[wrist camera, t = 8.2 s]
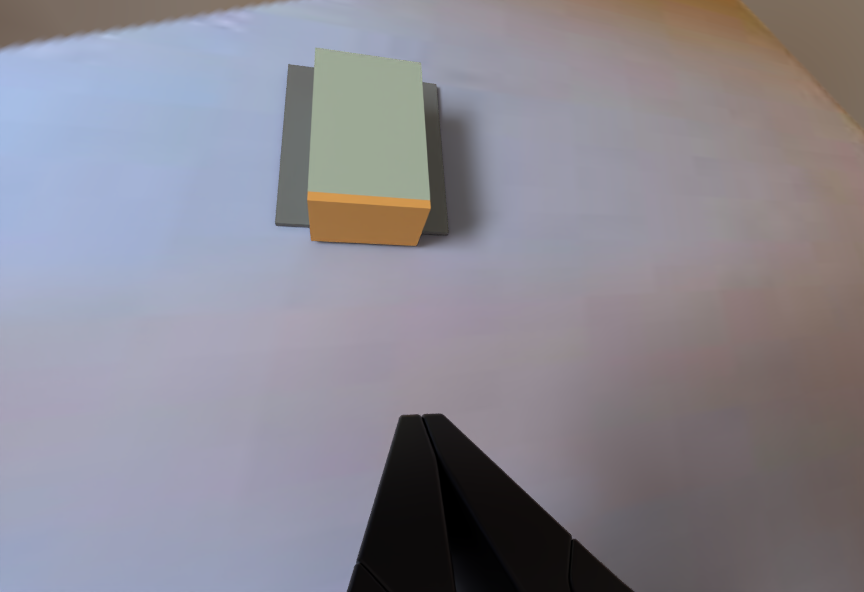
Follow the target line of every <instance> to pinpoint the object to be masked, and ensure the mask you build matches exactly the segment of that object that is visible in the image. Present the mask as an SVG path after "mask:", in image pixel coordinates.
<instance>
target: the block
mask: <svg viewBox="0 0 864 592" xmlns="http://www.w3.org/2000/svg"><path fill="white" fill-rule="evenodd" d="M307 204H308V214H309V224H310V234H311V241H327V242H347V243H368V244H388V245H409V246H417V244H418V241H419V238H420V236H421V233H422V230H423V228H424V225H425V223H426V220H427V217H428V215H429V212H430V209H431V205H430V190H429V175H428V160H427V145H426V130H425V116H424V101H423V86H422V71H421V63H418V62H411V61H404V60H397V59H390V58H383V57H377V56H370V55H363V54H356V53H349V52H342V51H335V50H328V49H321V48H315V65H314V83H313V102H312V120H311V139H310V157H309V176H308V194H307Z"/></svg>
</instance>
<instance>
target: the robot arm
mask: <svg viewBox="0 0 864 592" xmlns="http://www.w3.org/2000/svg"><path fill="white" fill-rule="evenodd" d="M347 592H634V591H633V590H632V589H630V588H629V587H628V586H627V585H626V584H624V583H623V582H622V581H621V580H620V579H619V578H618V577H617V576H615V575H614V574H613V573H612V572H611V571H610V570H609V569H608V568H607V567H606V566H604V565H603V564H602V563H601V562H600V561H599V560H598V559H597V558H596V557H594V556H593V555H592V554H591V553H590V552H589V551H588V550H587V549H586V548H585V547H584V546H583V545H582V544H581V543H580V542H578V541H577V540H576V539H572V536H571V534H570V533H569V532H568V531H567V530H565V529H564V528H563V527H562V526H561V525H560V524H559V523H558V522H557V521H556V520H555V519H554V518H553V517H552V516H551V515H550V514H548V513H547V512H546V511H545V510H544V509H543V508H542V507H541V506H540V505H539V504H538V503H537V502H536V501H535V500H534V499H533V498H531V497H530V496H529V495H528V494H527V493H526V492H525V491H524V490H523V489H522V488H521V487H520V486H519V485H518V484H517V483H516V482H514V481H513V480H512V479H511V478H510V477H509V476H508V475H507V474H506V473H505V472H504V471H503V470H502V469H501V468H500V467H499V466H497V465H496V464H495V463H494V462H493V461H492V460H491V459H490V458H489V457H488V456H487V455H486V454H485V453H484V452H483V451H482V450H480V449H479V448H478V447H477V446H476V445H475V444H474V443H473V442H472V441H471V440H470V439H469V438H468V437H467V436H466V435H465V434H463V433H462V432H461V431H460V430H459V429H458V428H457V427H456V426H455V425H454V424H453V423H452V422H451V421H450V420H449V419H448V418H446V417H445V416H444V415H443V414H439V413H438V414H424V415H422V417H421V416H420V415H418V414H413V415H401V416H400V417H399V420H398V424H397V427H396V430H395V434H394V437H393V440H392V444H391V447H390V450H389V454H388V457H387V460H386V464H385V467H384V470H383V474H382V477H381V480H380V484H379V487H378V490H377V494H376V497H375V500H374V504H373V507H372V511H371V514H370V517H369V521H368V524H367V527H366V531H365V534H364V537H363V541H362V544H361V547H360V551H359V554H358V557H357V561H356V565H355V566H354V570H353V573H352V576H351V580H350V583H349V586H348V590H347Z"/></svg>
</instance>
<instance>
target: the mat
mask: <svg viewBox="0 0 864 592" xmlns="http://www.w3.org/2000/svg"><path fill="white" fill-rule="evenodd" d="M313 83H314V68H313V67H305V66H298V65H290V64H288V76H287V88H286V100H285V112H284V124H283V135H282V147H281V159H280V171H279V183H278V195H277V207H276V219H275V224H276V226H292V227H310V224H309V214H308V204H307V194H308V176H309V157H310V139H311V120H312V102H313ZM422 86H423V101H424V116H425V130H426V145H427V160H428V175H429V190H430V205H431V209H430V212H429V215H428V217H427V220H426V223H425V225H424V228H423V230H422V233H421V234H437V235H448V233H449V232H448V220H447V207H446V195H445V183H444V171H443V159H442V147H441V135H440V123H439V111H438V99H437V87H436V84H431V83H424V82H422Z"/></svg>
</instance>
